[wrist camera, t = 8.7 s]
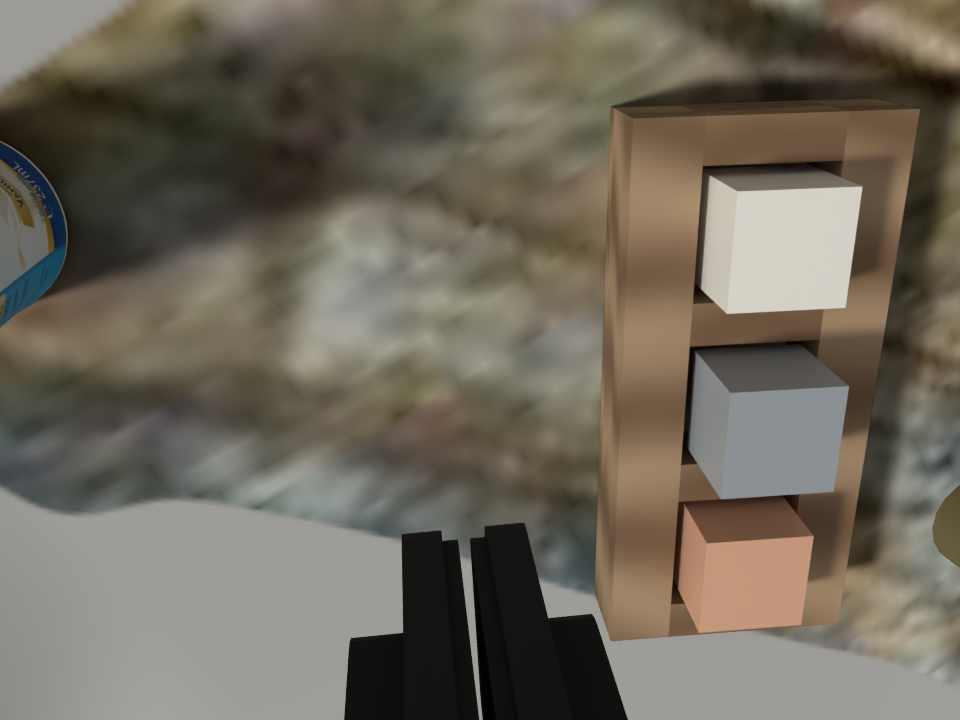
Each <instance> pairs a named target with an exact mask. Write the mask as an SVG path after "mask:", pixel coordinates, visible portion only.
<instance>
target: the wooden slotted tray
mask: <svg viewBox="0 0 960 720" xmlns="http://www.w3.org/2000/svg"><path fill="white" fill-rule="evenodd" d="M919 113H920V109H919V108H914V107H909V106H905V105H900V104H896V103H891V102H887V101H882V100H878V99H873V98H865V99H835V100H804V101H773V102H742V103H712V104H681V105H650V106H620V107H611V121H610V151H609V181H608V210H607V240H606V270H605V300H604V330H603V360H602V390H601V420H600V450H599V479H598V509H597V539H596V569H595V595H596V598H597V601H598V604H599V607H600V610H601V613H602V616H603V619H604V622H605V625H606V628H607V631H608V634H609V637H610V640H611V641H621V640H632V639H646V638H659V637H671V636H683V635H697V634H709V633H723V632H736V631H749V630H761V629H774V628H787V627H800V626H813V625H826V624H838V620H839V614H840V607H841V601H842V595H843V589H844V582H845V576H846V570H847V564H848V557H849V551H850V545H851V539H852V532H853V526H854V520H855V513H856V507H857V501H858V495H859V488H860V482H861V476H862V470H863V463H864V457H865V451H866V445H867V438H868V432H869V426H870V420H871V413H872V407H873V401H874V395H875V388H876V382H877V376H878V370H879V363H880V357H881V351H882V345H883V338H884V332H885V326H886V320H887V313H888V307H889V301H890V295H891V288H892V282H893V276H894V270H895V263H896V257H897V251H898V245H899V238H900V232H901V226H902V219H903V213H904V207H905V201H906V194H907V188H908V182H909V176H910V169H911V163H912V157H913V151H914V144H915V138H916V132H917V126H918V119H919ZM790 165H812V166H814V167H817V168H819V169H822V170H824V171H826V172H829V173H831V174H834V175H836V176H838V177H841V178H843V179H846V180H848V181H851V182H853V183H855V184H858V185H860V186H863V187H862V194H861V201H860V209H859V216H858V223H857V230H856V237H855V244H854V251H853V258H852V265H851V272H850V280H849V287H848V294H847V301H846V308H834V309H814V310H794V311H775V312H755V313H735V314H726V313H725V312H724V311H723V310H722V309H721V308H720V307H719V306H718V305H717V304H716V303H715V302H714V301H713V300H712V299H711V298H710V297H709V296H708V295H707V294H706V293H705V292H704V291H703V290H701V289H700V288H699V287H698V286H697V285H696V284H695V283H694V279H695V266H696V252H697V238H698V224H699V211H700V197H701V183H702V169H711V168H737V167H763V166H790ZM794 344H801V345H802V346H803V347H804V348H805V349H807V350H808V351H809V352H810V353H811V354H812V355H814V356H815V357H816V358H817V359H818V360H819V361H820V362H822V363H823V364H824V365H825V366H826V367H827V368H829V369H830V370H831V371H832V372H833V373H834V374H836V375H837V376H838V377H839V378H840V379H841V380H842V381H844V382H845V383H846V384H847V385H848V386H849V390H848V397H847V404H846V411H845V417H844V424H843V431H842V438H841V445H840V451H839V458H838V465H837V472H836V478H835V485H834V492H824V493H809V494H794V495H782V496H783V497H784V498H785V500H786V501H787V502H788V503H789V505H790V506H791V507H792V509H793V510H794V511H795V512H796V514H797V515H798V516H799V518H800V519H801V520H802V522H803V523H804V524H805V525H806V527H807V528H808V529H809V531H810V532H811V533H812V534H813V536H814V538H813V545H812V552H811V559H810V566H809V573H808V580H807V587H806V594H805V601H804V608H803V616H802V623H801V625H794V626H781V627H769V628H756V629H743V630H730V631H717V632H704V633H699V632H698V630H697V628H696V626H695V624H694V622H693V619H692V617H691V615H690V613H689V611H688V609H687V607H686V605H685V603H684V601H683V599H682V596H681V594H680V592H679V590H678V588H677V586H676V584H675V582H674V580H673V568H674V555H675V541H676V527H677V513H678V502H684V501H699V500H714V499H720V497H719V496H718V494H717V493H716V491H715V490H714V488H713V487H712V485H711V483H710V482H709V480H708V479H707V477H706V476H705V474H704V473H703V471H702V470H701V468H700V467H699V465H698V463H697V462H696V460H695V459H694V457H693V456H692V454H691V453H690V451H689V450H688V448H687V440H688V427H689V413H690V400H691V387H692V373H693V360H694V350H701V349H720V348H738V347H757V346H776V345H794Z"/></svg>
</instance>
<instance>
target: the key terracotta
mask: <svg viewBox="0 0 960 720" xmlns="http://www.w3.org/2000/svg"><path fill="white" fill-rule="evenodd" d="M813 538H814V536H813V534H812V533H811V532H810V531H809V529H808V528H807V527H806V525H805V524H804V523H803V522H802V520H801V519H800V518H799V516H798V515H797V514H796V512H795V511H794V510H793V509H792V507H791V506H790V505H789V503H788V502H787V501H786V500H785V498H784V497H783V496H782V495H778V496H763V497H748V498H733V499H714V500H699V501H684V502H678V513H677V527H676V541H675V555H674V568H673V580H674V582H675V584H676V586H677V588H678V590H679V592H680V594H681V596H682V599H683V601H684V603H685V605H686V607H687V609H688V611H689V613H690V615H691V617H692V619H693V622H694V624H695V626H696V628H697V630H698V632H699V633H704V632H717V631H730V630H743V629H756V628H769V627H781V626H794V625H801V623H802V616H803V608H804V601H805V594H806V587H807V580H808V573H809V566H810V559H811V552H812V545H813Z"/></svg>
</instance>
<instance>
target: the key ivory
mask: <svg viewBox="0 0 960 720" xmlns="http://www.w3.org/2000/svg"><path fill="white" fill-rule="evenodd" d="M862 187H863V186H860V185H858V184H855V183H853V182H851V181H848V180H846V179H843V178H841V177H838V176H836V175H834V174H831V173H829V172H826V171H824V170H822V169H819V168H817V167H814V166H812V165H790V166H763V167H737V168H711V169H702V183H701V197H700V211H699V224H698V238H697V252H696V266H695V279H694V283H695V284H696V285H697V286H698V287H699V288H700V289H701V290H703V291H704V292H705V293H706V294H707V295H708V296H709V297H710V298H711V299H712V300H713V301H714V302H715V303H716V304H717V305H718V306H719V307H720V308H721V309H722V310H723V311H724V312H725V313H726V314H735V313H755V312H775V311H794V310H814V309H834V308H846V301H847V294H848V287H849V280H850V272H851V265H852V258H853V251H854V244H855V237H856V230H857V223H858V216H859V209H860V201H861V194H862Z"/></svg>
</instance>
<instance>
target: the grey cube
mask: <svg viewBox="0 0 960 720" xmlns="http://www.w3.org/2000/svg"><path fill="white" fill-rule="evenodd" d="M848 390H849V386H848V385H847V384H846V383H845V382H844V381H842V380H841V379H840V378H839V377H838V376H837V375H836V374H834V373H833V372H832V371H831V370H830V369H829V368H827V367H826V366H825V365H824V364H823V363H822V362H820V361H819V360H818V359H817V358H816V357H815V356H814V355H812V354H811V353H810V352H809V351H808V350H807V349H805V348H804V347H803V346H802V345H801V344H794V345H776V346H757V347H738V348H720V349H701V350H694V360H693V373H692V387H691V400H690V413H689V427H688V440H687V448H688V450H689V451H690V453H691V454H692V456H693V457H694V459H695V460H696V462H697V463H698V465H699V467H700V468H701V470H702V471H703V473H704V474H705V476H706V477H707V479H708V480H709V482H710V483H711V485H712V487H713V488H714V490H715V491H716V493H717V494H718V496H719V497H720V499H733V498H748V497H763V496H778V495H794V494H809V493H824V492H834V485H835V478H836V472H837V465H838V458H839V451H840V445H841V438H842V431H843V424H844V417H845V411H846V404H847V397H848Z"/></svg>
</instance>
